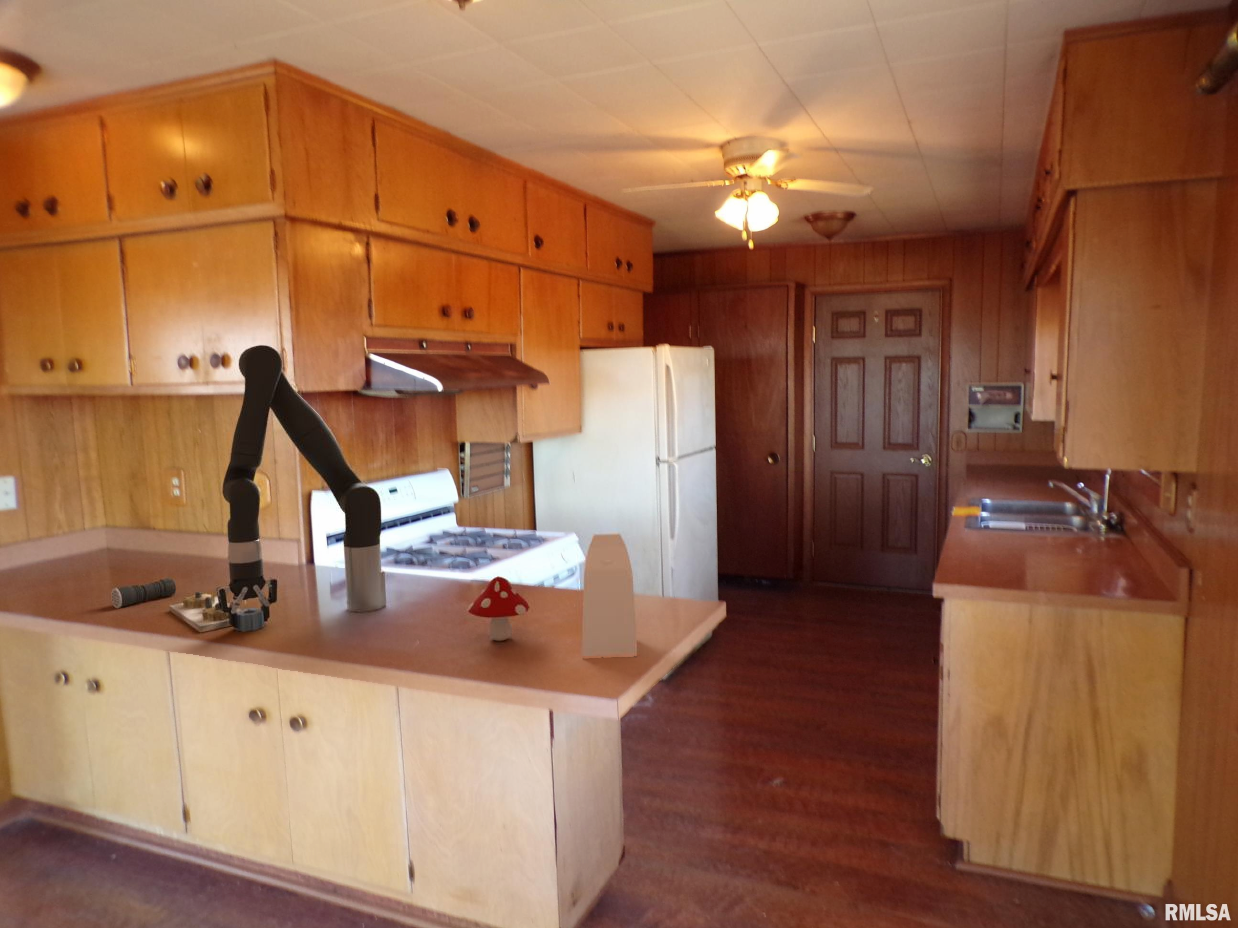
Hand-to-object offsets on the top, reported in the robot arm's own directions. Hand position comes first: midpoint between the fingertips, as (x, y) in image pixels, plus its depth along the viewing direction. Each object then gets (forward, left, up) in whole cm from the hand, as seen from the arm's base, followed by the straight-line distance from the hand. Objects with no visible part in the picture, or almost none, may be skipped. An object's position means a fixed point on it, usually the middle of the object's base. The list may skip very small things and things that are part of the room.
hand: (250, 623), depth 203 cm
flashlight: (+12, -47, -1) cm, 49 cm away
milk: (-51, +76, -1) cm, 91 cm away
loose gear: (0, 0, -1) cm, 1 cm away
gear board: (+4, -18, -1) cm, 18 cm away
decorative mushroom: (-38, +53, -1) cm, 65 cm away
